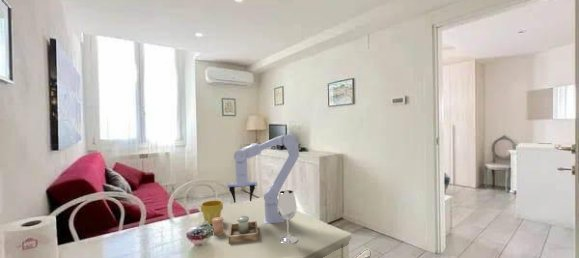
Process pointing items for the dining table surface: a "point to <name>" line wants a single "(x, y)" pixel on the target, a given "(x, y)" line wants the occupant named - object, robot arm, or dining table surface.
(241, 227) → the sage pot
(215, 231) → the terracotta pot
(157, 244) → the dining table surface
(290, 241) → the wineglass
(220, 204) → the plant pot
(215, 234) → the cork mat
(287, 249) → the dining table surface
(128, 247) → the dining table surface
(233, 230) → the wooden tray
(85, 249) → the dining table surface
